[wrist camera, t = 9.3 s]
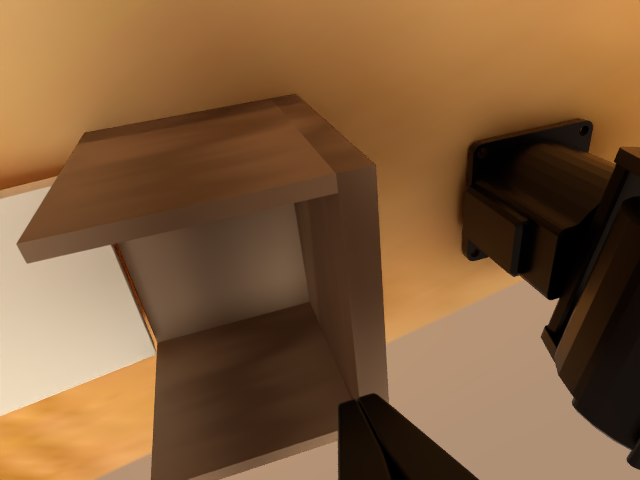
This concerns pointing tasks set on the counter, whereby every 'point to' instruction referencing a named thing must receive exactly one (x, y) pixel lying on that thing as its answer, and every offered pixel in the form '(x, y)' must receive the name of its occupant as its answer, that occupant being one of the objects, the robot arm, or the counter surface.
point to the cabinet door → (60, 311)
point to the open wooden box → (235, 273)
